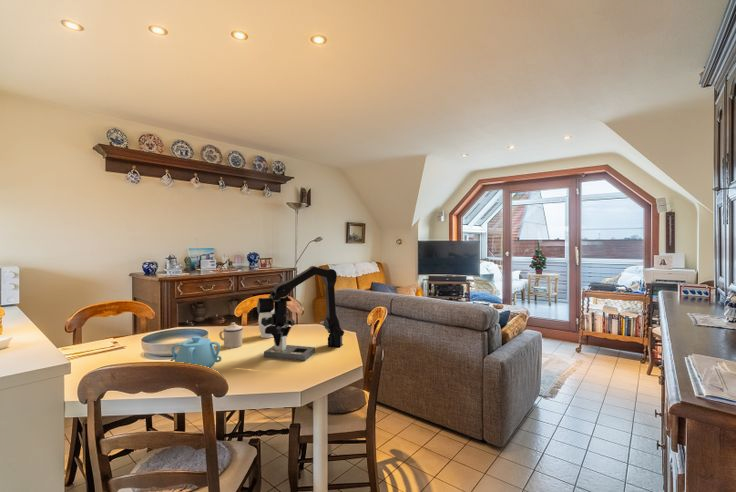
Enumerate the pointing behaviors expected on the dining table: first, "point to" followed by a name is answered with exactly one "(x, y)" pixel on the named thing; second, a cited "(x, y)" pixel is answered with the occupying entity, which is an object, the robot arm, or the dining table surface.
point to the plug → (281, 344)
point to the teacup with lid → (232, 336)
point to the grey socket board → (291, 353)
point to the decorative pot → (197, 352)
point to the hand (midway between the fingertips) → (280, 344)
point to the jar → (261, 327)
